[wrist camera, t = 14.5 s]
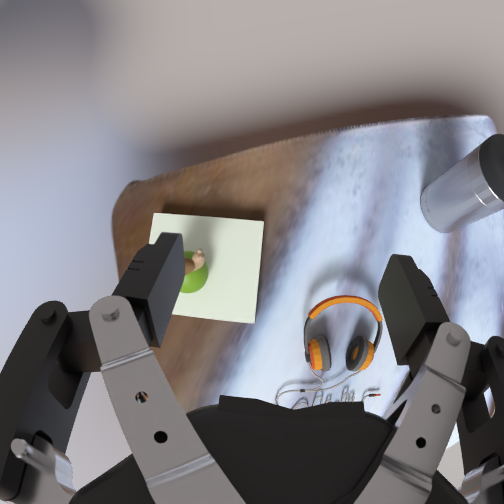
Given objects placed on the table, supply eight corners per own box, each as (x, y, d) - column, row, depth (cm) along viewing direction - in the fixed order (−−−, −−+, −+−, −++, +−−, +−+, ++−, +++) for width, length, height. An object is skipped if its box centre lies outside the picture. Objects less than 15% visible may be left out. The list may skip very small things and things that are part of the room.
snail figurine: (222, 286, 41) (209, 280, 29) (177, 298, 41) (147, 295, 29) (213, 248, 42) (196, 226, 30) (169, 260, 41) (137, 243, 30)
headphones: (273, 426, 38) (290, 295, 36) (272, 407, 43) (286, 287, 42) (379, 423, 37) (409, 302, 36) (369, 407, 43) (394, 294, 41)
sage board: (263, 226, 45) (263, 221, 42) (254, 322, 43) (254, 323, 40) (160, 218, 46) (154, 212, 43) (148, 308, 43) (141, 309, 40)
